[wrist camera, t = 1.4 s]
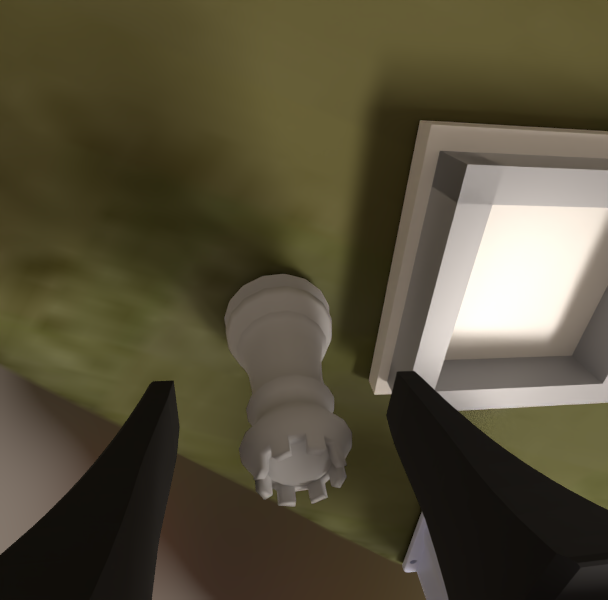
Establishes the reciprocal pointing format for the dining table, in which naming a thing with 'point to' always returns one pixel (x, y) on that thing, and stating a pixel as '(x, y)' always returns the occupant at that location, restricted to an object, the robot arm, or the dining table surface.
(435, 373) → the pocket tray
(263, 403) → the rook chess piece
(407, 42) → the dining table surface
